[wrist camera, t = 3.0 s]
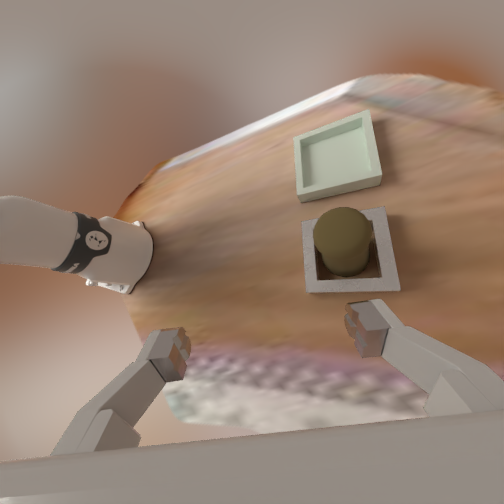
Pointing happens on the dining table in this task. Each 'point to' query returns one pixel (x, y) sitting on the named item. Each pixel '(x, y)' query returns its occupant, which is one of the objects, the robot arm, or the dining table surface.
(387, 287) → the grey square frame
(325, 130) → the sage tray
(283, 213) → the dining table surface
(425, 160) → the dining table surface
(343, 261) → the cork
